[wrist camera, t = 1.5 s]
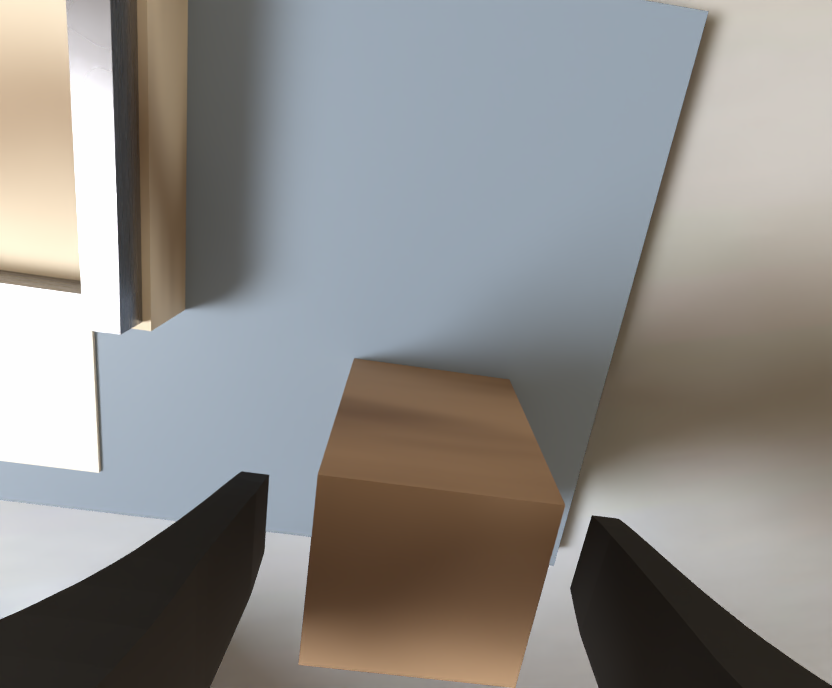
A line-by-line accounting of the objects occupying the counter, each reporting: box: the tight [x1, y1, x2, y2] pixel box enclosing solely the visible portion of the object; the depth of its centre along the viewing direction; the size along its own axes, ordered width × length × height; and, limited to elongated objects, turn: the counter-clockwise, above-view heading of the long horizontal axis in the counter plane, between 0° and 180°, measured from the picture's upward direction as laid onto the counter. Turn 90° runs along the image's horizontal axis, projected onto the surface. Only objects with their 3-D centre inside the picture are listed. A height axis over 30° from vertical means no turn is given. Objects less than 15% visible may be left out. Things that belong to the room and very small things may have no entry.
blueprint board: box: [0, 0, 709, 566], centre depth 13 cm, size 16×22×4 cm
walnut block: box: [299, 358, 565, 688], centre depth 13 cm, size 4×4×6 cm
